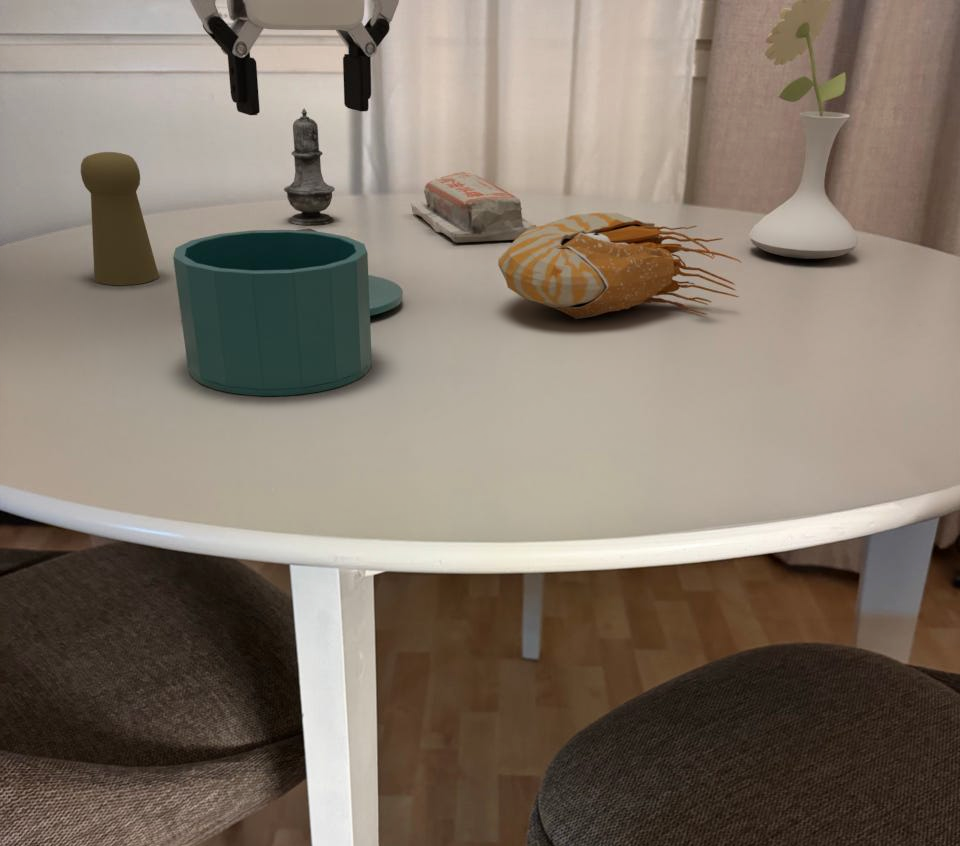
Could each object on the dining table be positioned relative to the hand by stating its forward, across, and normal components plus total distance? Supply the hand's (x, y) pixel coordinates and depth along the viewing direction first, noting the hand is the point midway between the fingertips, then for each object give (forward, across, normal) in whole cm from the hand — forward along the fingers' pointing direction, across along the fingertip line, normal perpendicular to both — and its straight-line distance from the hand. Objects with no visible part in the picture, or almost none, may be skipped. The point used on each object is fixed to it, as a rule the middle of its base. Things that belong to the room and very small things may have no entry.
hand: (303, 111), depth 87 cm
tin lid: (+15, -1, 0) cm, 15 cm away
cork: (+16, +11, -18) cm, 27 cm away
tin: (+16, +9, +14) cm, 23 cm away
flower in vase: (+15, -54, +7) cm, 56 cm away
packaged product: (+16, -31, -22) cm, 41 cm away
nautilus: (+15, -23, +15) cm, 31 cm away
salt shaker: (+16, -16, -34) cm, 40 cm away
